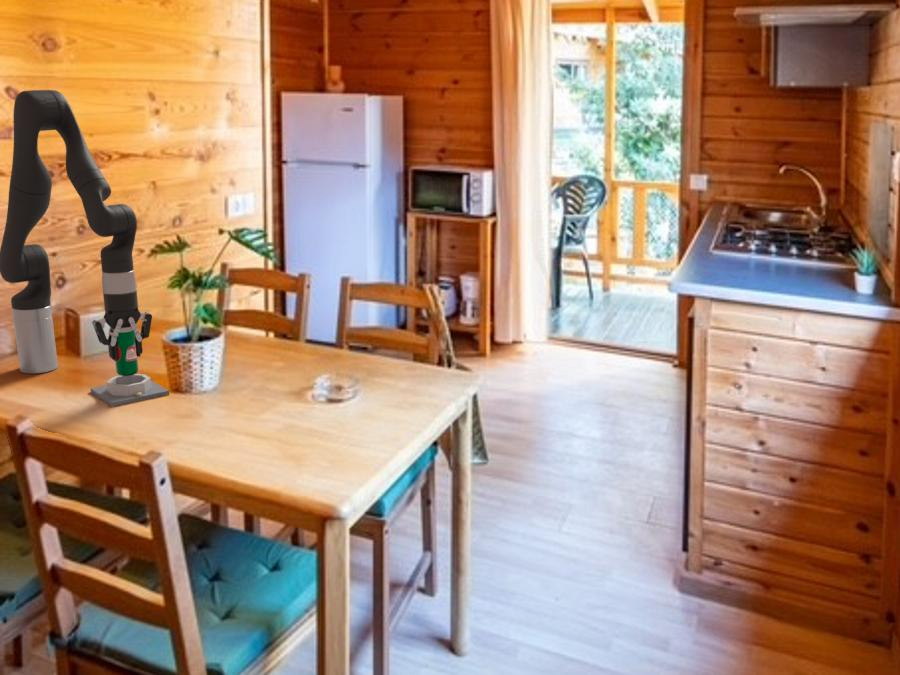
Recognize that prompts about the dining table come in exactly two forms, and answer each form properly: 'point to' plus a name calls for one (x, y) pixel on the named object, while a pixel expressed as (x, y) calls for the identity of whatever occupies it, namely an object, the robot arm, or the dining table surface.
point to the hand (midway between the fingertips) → (126, 357)
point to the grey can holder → (129, 390)
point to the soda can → (126, 352)
